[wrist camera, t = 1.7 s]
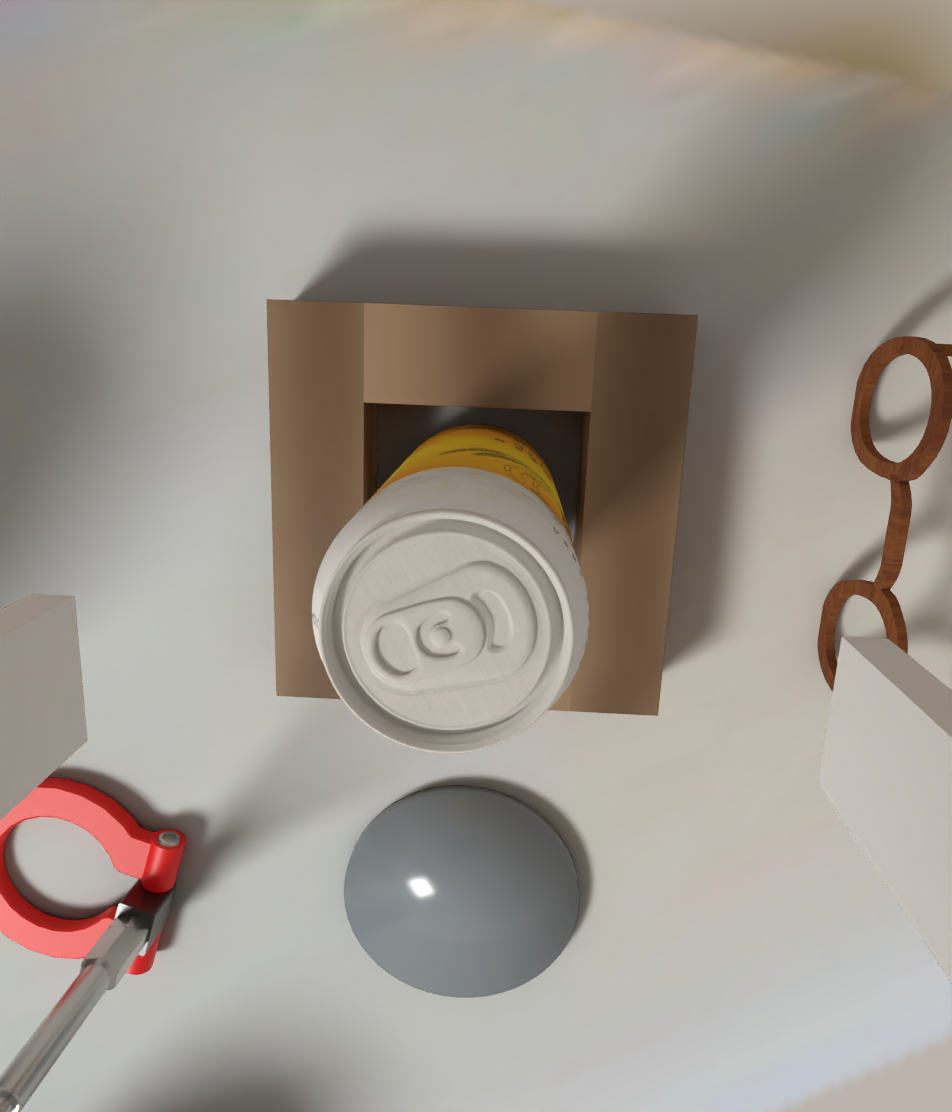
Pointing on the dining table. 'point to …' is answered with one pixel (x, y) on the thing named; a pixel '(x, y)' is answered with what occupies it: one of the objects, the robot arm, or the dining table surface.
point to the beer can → (454, 596)
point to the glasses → (946, 403)
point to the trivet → (461, 891)
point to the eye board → (492, 382)
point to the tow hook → (86, 920)
